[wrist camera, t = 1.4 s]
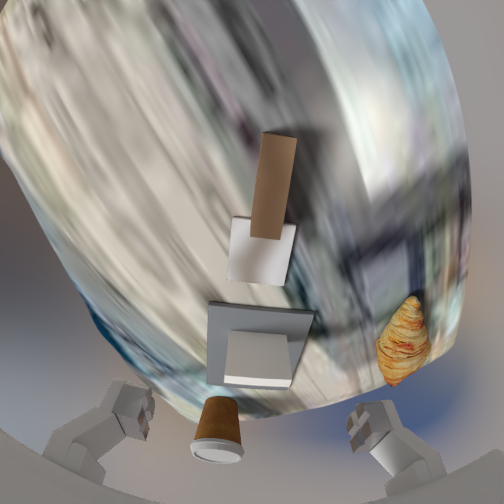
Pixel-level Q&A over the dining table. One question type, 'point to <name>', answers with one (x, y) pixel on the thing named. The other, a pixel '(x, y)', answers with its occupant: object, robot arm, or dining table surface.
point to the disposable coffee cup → (218, 432)
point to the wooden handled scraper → (265, 219)
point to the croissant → (403, 343)
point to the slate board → (252, 320)
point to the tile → (257, 359)
